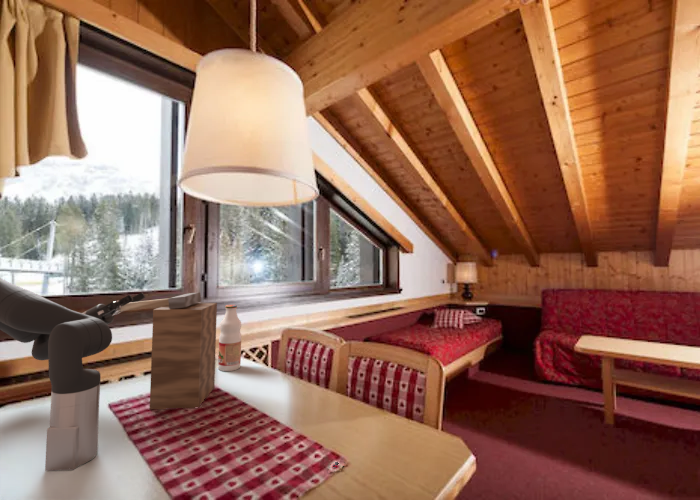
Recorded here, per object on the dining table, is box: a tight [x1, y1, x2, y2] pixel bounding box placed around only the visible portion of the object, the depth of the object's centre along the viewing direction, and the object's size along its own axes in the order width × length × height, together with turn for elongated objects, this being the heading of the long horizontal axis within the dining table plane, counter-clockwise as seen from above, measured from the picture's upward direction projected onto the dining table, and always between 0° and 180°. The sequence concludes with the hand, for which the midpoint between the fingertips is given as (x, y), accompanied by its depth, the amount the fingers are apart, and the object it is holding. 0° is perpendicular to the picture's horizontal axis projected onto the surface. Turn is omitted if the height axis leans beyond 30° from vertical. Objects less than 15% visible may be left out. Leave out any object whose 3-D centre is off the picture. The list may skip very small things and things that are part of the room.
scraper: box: [119, 291, 202, 312], centre depth 118 cm, size 16×25×4 cm, turn 96°
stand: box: [149, 302, 218, 410], centre depth 119 cm, size 18×15×32 cm
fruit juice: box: [217, 304, 242, 372], centre depth 152 cm, size 9×9×28 cm
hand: (138, 296), depth 118 cm, fingers open, 7 cm apart
